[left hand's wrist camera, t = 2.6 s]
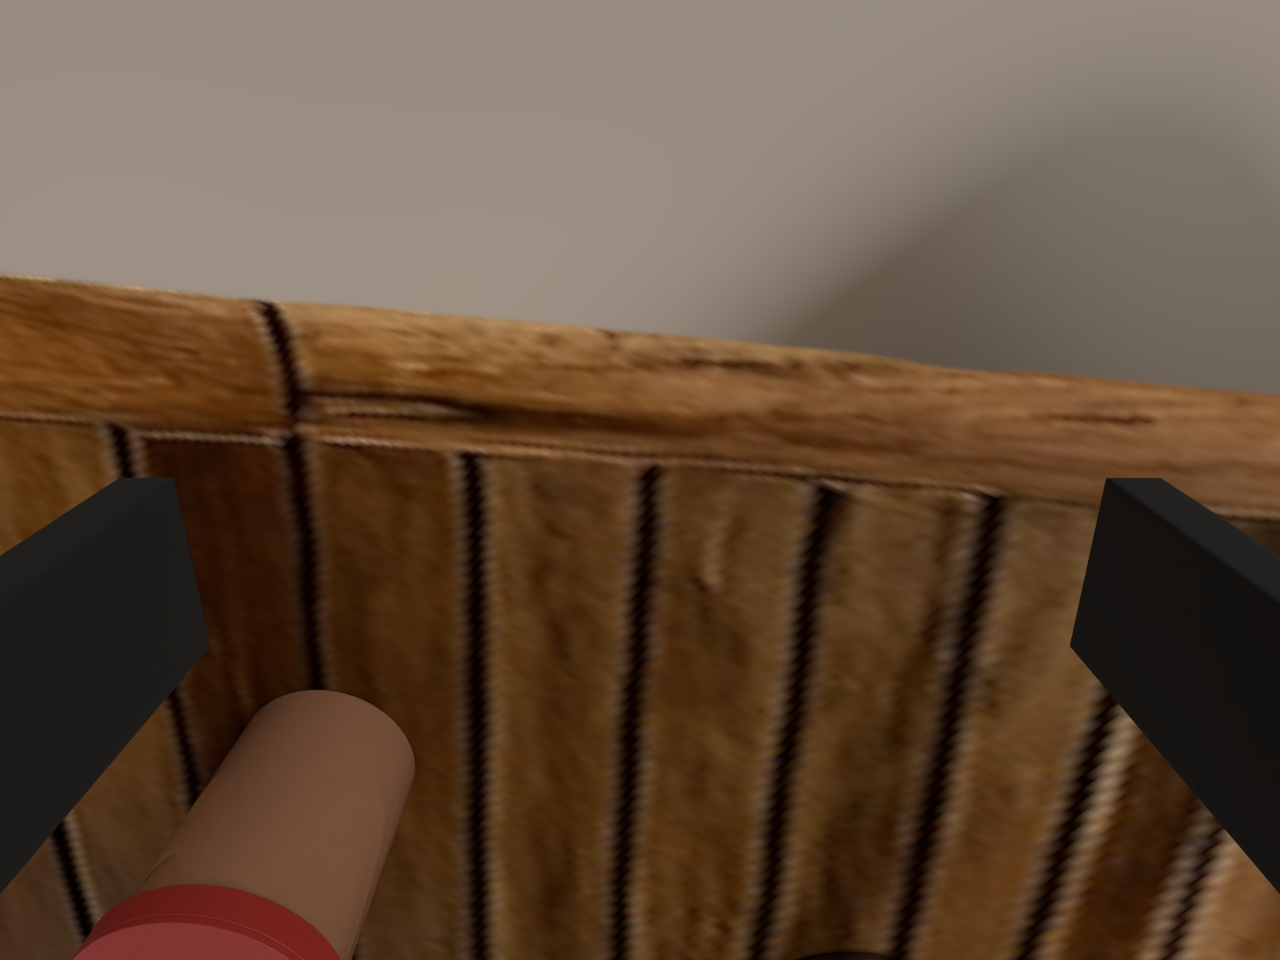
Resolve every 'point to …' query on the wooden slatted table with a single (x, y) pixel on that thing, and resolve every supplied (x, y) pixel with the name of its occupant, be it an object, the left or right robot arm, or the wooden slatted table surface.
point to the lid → (203, 928)
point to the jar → (300, 812)
